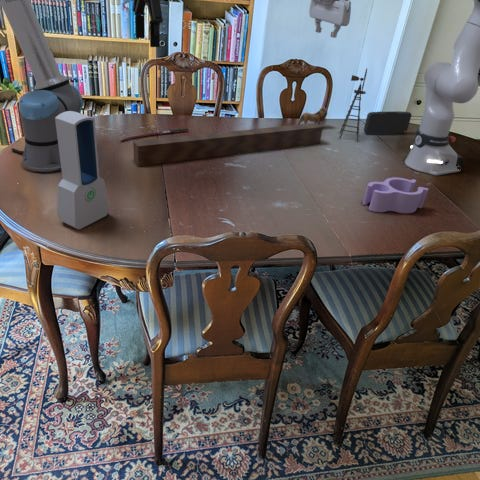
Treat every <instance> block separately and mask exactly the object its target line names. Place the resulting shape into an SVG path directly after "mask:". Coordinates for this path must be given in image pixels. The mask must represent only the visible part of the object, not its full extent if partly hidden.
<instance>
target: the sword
mask: <svg viewBox="0 0 480 480" xmlns="http://www.w3.org/2000/svg"><path fill="white" fill-rule="evenodd" d="M183 131H189V129H188V128H178V129H168V130H163V131H159V132H151V133H145V134H138V135H134V136H130V137H125V138H123V139H121V140H120V142H126V141H129V140H134V139H139V138H144V137H151V136H156V135H163V134H173V133H177V132H183Z"/></svg>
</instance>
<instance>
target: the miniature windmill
mask: <svg viewBox="0 0 480 480" xmlns="http://www.w3.org/2000/svg"><path fill="white" fill-rule="evenodd" d="M367 74H368V68H366V69H365V72H364V76H363V77H359V76H357V75H354V74H352V75H351V79H350V81H353V82H358V81H360V84H359V85H358V88H357V89H354V90H353V94H355V95H354V96H353V97H354V98H353V99H352V100H351V104H350V106H349V109H348V111H347V114H346V115H345V119H344V120H343V124H342V125H341V128H340V131H339V134H340V135H339V139H342V137H343V134H344V132H348V133H354V134H356V142H358V141H359V134H360V122H361V117H360V116H361V101H362V95H366V94H367V93H366V92H367V91H366V90H365V91H364V86H365V82H366V78H367ZM356 100H357V101H358V105H355V102H356ZM352 110H355V111H358V113H357V115H356V114H355V115H354V114H351V112H352ZM350 117H356V118H357V119H355V118H350ZM348 120H350V121H357V123H356V124H357V125H356V126H354V125H347V123H348ZM346 127H348V128H355V129H356V131H353V130H347V129H346Z"/></svg>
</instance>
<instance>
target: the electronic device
mask: <svg viewBox="0 0 480 480" xmlns="http://www.w3.org/2000/svg"><path fill="white" fill-rule="evenodd" d="M55 122H56V130H57V138H58V146H59V154H60V162H61V170H60V171H61V177H62V178H61V180H60V181H59V183H58V185H57V200H56V202H57V203H56V215H57V217H58V219H59V221H61V222H62V223H64V224H66V225H67V226H70V227H72V228H74V229H77V230H79V231H80V230H82V229H83V228H85V227H87V226H88V225H89V226H90V225H91V224H93V223H95V222H97V221H99V220H100V219H103V218H104V217H106V216H107V215H108V214H109V211H110V208H109V207H110V206H109V202H108V195H107V190H106V183H105V179H104V178H102V177H100V168H99V167H100V166H99V156H98V155H99V154H98V142H97V131H96V129H97V128H96V118H94V117H92V116H90V115H86V114H83V113H81V112H80V113H78V112H74V111H66V112H63V113H61V114H59V115H58V116H57V117H55Z"/></svg>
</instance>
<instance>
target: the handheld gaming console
mask: <svg viewBox="0 0 480 480" xmlns="http://www.w3.org/2000/svg"><path fill="white" fill-rule="evenodd" d="M412 116H413V115H412V112H410V111H401V110H399V111H398V110H397V111H394V110H393V111H370V112H368V113H367V115H366V119H365V123H364V127H363V132H364V133H365V134H366V135H392V134H394V135H395V134H405V133H406V132H407V131H408V129H409V126H410V121H411V119H412ZM404 131H406V132H404Z"/></svg>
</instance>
